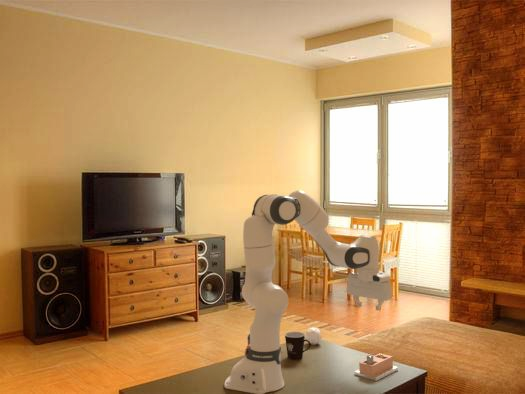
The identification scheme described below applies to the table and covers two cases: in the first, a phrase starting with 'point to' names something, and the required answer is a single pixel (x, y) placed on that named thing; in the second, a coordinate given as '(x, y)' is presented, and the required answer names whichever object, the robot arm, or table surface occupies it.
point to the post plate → (379, 375)
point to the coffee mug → (295, 345)
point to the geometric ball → (313, 335)
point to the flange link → (376, 365)
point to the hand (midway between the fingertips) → (368, 308)
